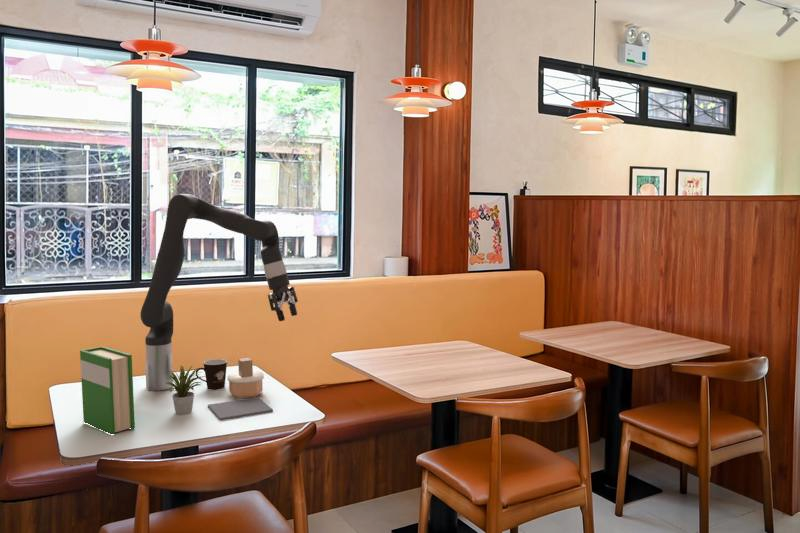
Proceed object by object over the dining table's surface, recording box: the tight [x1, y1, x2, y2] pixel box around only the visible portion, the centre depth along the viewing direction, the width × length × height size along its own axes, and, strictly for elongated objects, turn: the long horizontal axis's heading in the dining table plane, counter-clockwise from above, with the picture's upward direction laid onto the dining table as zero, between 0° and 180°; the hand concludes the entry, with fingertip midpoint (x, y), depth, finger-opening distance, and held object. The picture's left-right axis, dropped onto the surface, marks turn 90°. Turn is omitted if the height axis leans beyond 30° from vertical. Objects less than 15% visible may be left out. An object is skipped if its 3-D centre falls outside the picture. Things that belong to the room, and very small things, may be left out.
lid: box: [226, 357, 265, 383], centre depth 243 cm, size 13×13×7 cm
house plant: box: [165, 365, 206, 416], centre depth 222 cm, size 14×14×16 cm
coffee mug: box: [195, 358, 228, 391], centre depth 252 cm, size 12×9×10 cm
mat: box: [207, 396, 274, 421], centre depth 227 cm, size 18×16×1 cm
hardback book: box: [79, 345, 136, 435], centre depth 209 cm, size 18×7×24 cm, turn 52°
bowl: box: [228, 379, 264, 399], centre depth 244 cm, size 11×11×6 cm
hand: (288, 318), depth 239 cm, fingers open, 8 cm apart
